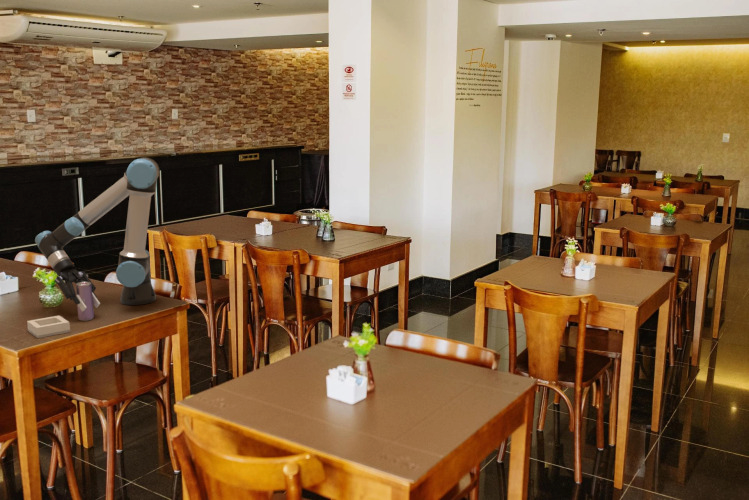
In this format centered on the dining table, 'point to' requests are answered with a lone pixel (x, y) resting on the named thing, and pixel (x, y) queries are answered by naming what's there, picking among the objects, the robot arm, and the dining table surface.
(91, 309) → the beverage can
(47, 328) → the holder
